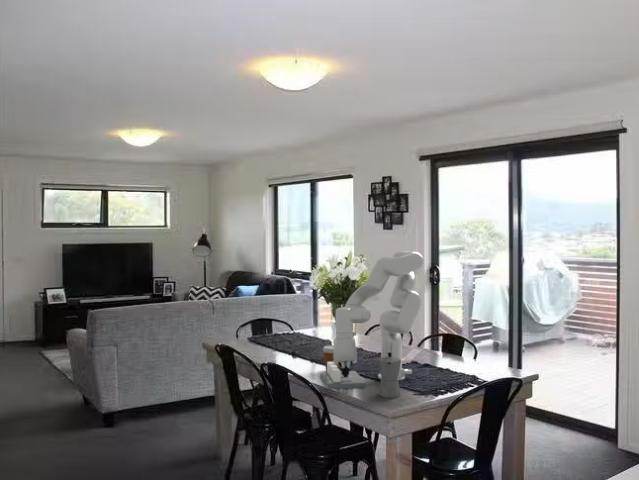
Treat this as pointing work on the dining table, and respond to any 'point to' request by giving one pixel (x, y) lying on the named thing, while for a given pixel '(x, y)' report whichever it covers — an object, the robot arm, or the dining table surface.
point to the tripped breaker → (336, 375)
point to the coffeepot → (389, 376)
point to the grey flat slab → (343, 381)
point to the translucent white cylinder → (410, 356)
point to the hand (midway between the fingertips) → (345, 376)
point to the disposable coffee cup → (328, 355)
